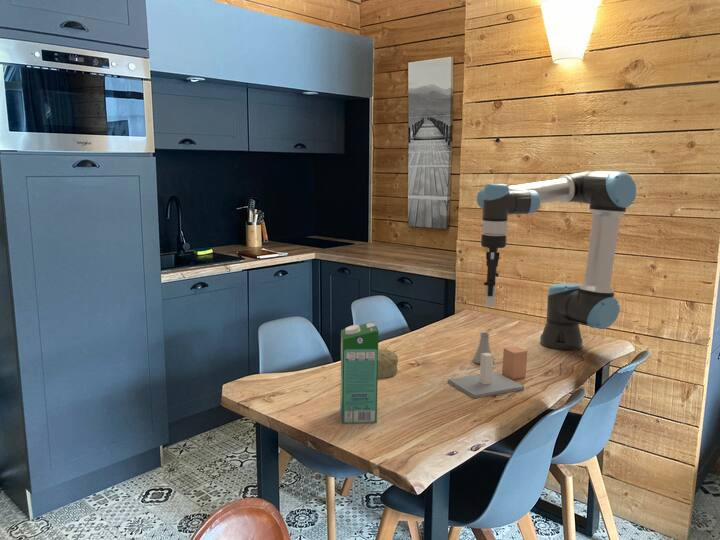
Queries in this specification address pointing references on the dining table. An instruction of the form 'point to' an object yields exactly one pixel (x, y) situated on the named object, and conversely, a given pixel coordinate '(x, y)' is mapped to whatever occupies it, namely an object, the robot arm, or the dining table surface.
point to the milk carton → (359, 373)
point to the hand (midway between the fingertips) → (490, 301)
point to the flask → (482, 347)
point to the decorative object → (387, 363)
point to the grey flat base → (485, 381)
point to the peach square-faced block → (514, 362)
